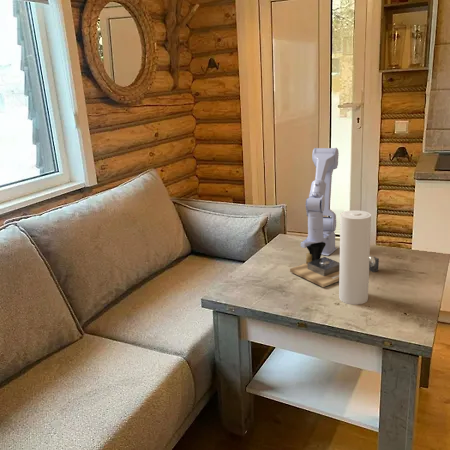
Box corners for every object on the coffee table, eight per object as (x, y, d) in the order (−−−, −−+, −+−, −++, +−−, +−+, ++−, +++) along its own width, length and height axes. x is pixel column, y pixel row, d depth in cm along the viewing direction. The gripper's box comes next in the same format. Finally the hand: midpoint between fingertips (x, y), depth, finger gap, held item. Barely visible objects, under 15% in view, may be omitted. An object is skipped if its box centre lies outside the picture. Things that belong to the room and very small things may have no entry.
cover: (307, 268, 174) (307, 261, 173) (324, 262, 179) (324, 255, 178) (324, 276, 167) (324, 268, 166) (341, 269, 172) (341, 262, 171)
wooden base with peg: (289, 271, 176) (289, 258, 175) (323, 259, 185) (323, 247, 184) (323, 287, 161) (323, 273, 160) (358, 273, 170) (358, 260, 169)
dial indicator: (372, 268, 176) (373, 253, 174) (379, 271, 172) (380, 256, 170) (365, 269, 175) (366, 255, 173) (372, 273, 171) (373, 258, 169)
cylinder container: (369, 305, 148) (372, 217, 139) (339, 303, 150) (341, 217, 141) (366, 292, 157) (369, 208, 148) (338, 291, 159) (339, 208, 150)
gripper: (320, 221, 182) (320, 253, 186) (294, 229, 174) (295, 262, 178) (334, 225, 176) (334, 257, 180) (308, 233, 168) (308, 267, 172)
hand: (315, 260), depth 178 cm, fingers closed
